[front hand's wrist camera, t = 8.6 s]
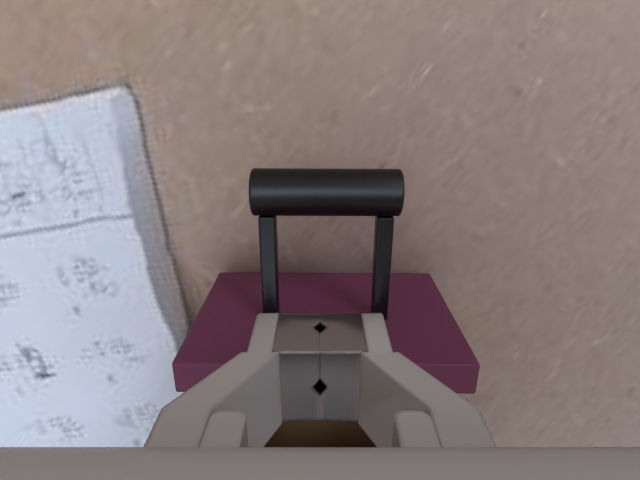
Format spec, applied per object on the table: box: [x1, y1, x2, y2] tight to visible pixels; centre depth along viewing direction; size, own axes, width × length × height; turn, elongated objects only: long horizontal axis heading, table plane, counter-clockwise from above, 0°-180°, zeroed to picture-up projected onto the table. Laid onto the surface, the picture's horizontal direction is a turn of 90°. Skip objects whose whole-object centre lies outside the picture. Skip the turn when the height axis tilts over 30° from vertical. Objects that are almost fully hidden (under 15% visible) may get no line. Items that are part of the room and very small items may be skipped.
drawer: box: [172, 168, 480, 447], centre depth 20 cm, size 25×10×7 cm, turn 0°
